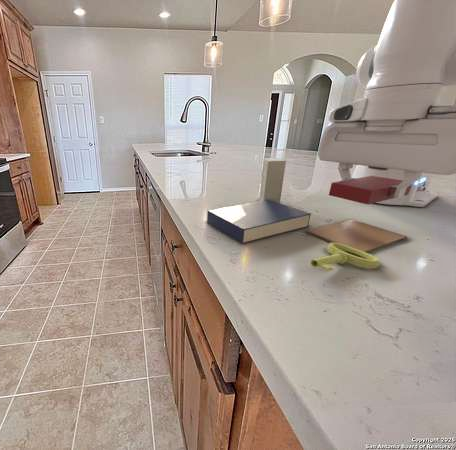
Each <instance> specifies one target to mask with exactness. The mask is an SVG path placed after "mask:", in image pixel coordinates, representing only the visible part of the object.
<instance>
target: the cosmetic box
mask: <svg viewBox="0 0 456 450" xmlns="http://www.w3.org/2000/svg"><path fill="white" fill-rule="evenodd" d="M286 163H287V160H285V159H283V158H281V157H270V158H269V157H264V158H263V160H262V170H261V178H260V187H259V197H258V201H261V200H267V199H268V200H271V201H274V202H277V203H280V204H281V198H282V192H283V191H282V190H283V185H284V184H283V183H284V178H285V172H286V171H285V170H286V165H287V164H286Z"/></svg>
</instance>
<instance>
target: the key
mask: <svg viewBox="0 0 456 450" xmlns="http://www.w3.org/2000/svg"><path fill="white" fill-rule="evenodd" d="M326 249H327V252H328V253H329V254H330V255H327V256H323V257H318V258H314V259H311V260H310V262H309V263H310V266H311V267H312V268H321V269H322V270H324V271H326V272H330V271H333V270H334V266H331V264H335V263H337V264H344V263H350V264H352V265H356V266H358V267H362V268H366V269H377V268H378V267H379V266H380V263H381V259H380V258H378V257H376V256H374V255H373V254H370V253H369V252H363V251H360V250H358V249H355V248H352V247H349V246H346V245H343V244H339V243H332V242H329V243H328V245H327V248H326Z"/></svg>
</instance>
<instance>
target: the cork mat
mask: <svg viewBox="0 0 456 450" xmlns="http://www.w3.org/2000/svg"><path fill="white" fill-rule="evenodd" d="M306 233H307V234H309V235H311V236H314V237H317V238H319V239H322V240H324V241H326V242H329V243H339V244H343V245H346V246H349V247H352V248H355V249H358V250H360V251H363V252H365V253H369V252H371V251H373V250H376V249H379V248H383V247H386V246H387V245H390V244H394V243H397V242H400V241H402V240H405V239H407V238H408V236H407V235H404V234H402V233H399V232H395V231H391V230H388V229H385V228H381V227H378V226H375V225H372V224H368V223H365V222H363V221H358V220H355V219H353V218H351V219H350V218H349V219H347V220H343V221H339V222H336V223H332V224H328V225H325V226H321V227H316V228H313V229H310V230H307V232H306Z"/></svg>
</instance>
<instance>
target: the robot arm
mask: <svg viewBox="0 0 456 450" xmlns="http://www.w3.org/2000/svg"><path fill="white" fill-rule="evenodd" d="M390 7H391V8H390V9H389V12H388V14H387V18H386V20H385V22H384V25H383V28H382V31H381V33H380V37H379V40H378V43H377V44H376V45H372V46H371V47H370V48H368V49H367V50H366V52H365V53H364V54H363V56H362V57H361V58H360V60H359V62H358V64H357V67H356V72H355V73H356V74H355V75H356V76H355V77H356V81H357V83H358V85H359V86H360V87H361V88H362V89H364V94H363V97H361V98H358V99H356V100H354V101H351V102H349V103H346V104H343V105H341V106H338V107H336V108H333V109H331V110H330V112H329V114H328V121H329V122H330V123H328V125H326V127H325V128H324V130H323V132H322V135H321V138H320V141H319V145H318V148H317V149H318V150H317V156H318V158H319V160H320V162H321V161H323V162H330V163H338V167H337V170H338V172H339V175H340V178H341V179H340V181H345V180H351V179H357V178H362V177H368V176H376V177H383V178H390V179H396V180H403V182H402V183H400V184H399V185H394V186H390V190H389V191H390V192H389V193H388V196H390V197H395V198H393V199H388V200H384V201H380V202H376V203H375V204H380V205H389V206H390V205H391V206H407V207H417V208H423V207H425V206H427V205H428V204H429V203H431V202H432V201H433V200H435V199H436V198H437V197H438V192H437V193H436V192H434V191H429V190H428V189H429V186H430V183H431V180H432V177H433V175H439V176H452V175H456V105H436V103H437V101H438V97H439V95H440V92H441V90H442V87H451V86H456V0H394V1H393V3H392V4H391V6H390ZM355 165H356V167H355V169H354V171H353V174H352V175H351V171H350V169H353V167H354V166H355ZM412 183H413V184H412ZM411 184H412V186H411V189H410V192H409V194H408V195H406V196H404V194H405V191H406V188H407V187H409V186H410V185H411Z"/></svg>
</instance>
